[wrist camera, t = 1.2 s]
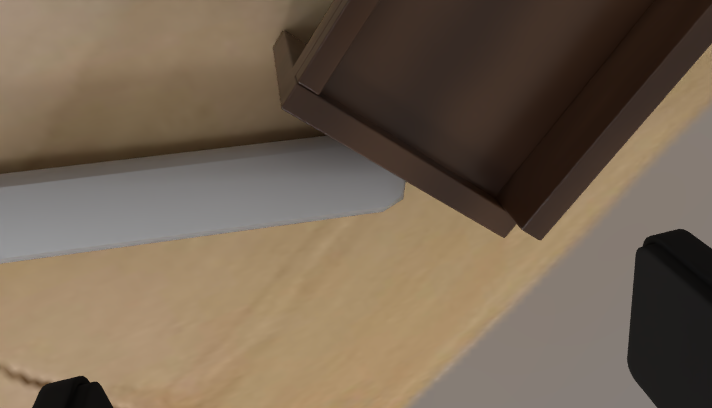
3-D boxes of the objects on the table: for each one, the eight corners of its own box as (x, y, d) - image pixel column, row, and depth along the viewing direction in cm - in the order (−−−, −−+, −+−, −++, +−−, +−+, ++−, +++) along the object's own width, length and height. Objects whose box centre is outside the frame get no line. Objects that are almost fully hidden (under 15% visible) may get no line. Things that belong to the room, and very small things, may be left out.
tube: (414, 123, 30) (-87, 181, 27) (423, 219, 31) (-62, 286, 28) (393, 122, 36) (-29, 171, 33) (401, 205, 36) (-9, 260, 33)
